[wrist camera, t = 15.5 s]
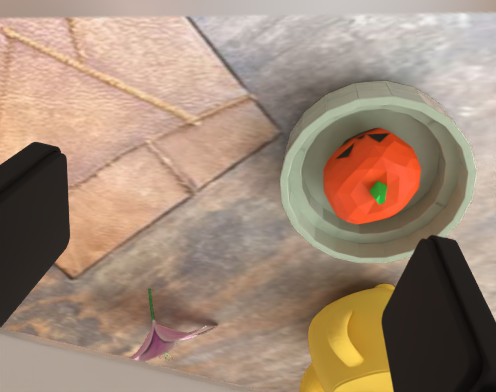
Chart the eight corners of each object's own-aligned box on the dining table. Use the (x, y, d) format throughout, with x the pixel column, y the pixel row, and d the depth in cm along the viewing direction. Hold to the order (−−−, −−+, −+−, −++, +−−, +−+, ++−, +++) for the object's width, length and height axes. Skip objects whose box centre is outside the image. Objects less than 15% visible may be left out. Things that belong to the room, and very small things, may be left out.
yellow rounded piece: (314, 255, 42) (312, 351, 32) (459, 285, 41) (505, 393, 31) (288, 348, 49) (280, 451, 39) (411, 376, 48) (436, 488, 38)
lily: (123, 326, 53) (126, 407, 47) (83, 284, 44) (82, 378, 38) (215, 301, 54) (231, 378, 48) (196, 254, 44) (211, 342, 38)
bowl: (308, 60, 33) (306, 75, 29) (488, 101, 32) (514, 123, 28) (269, 209, 40) (263, 240, 36) (416, 245, 40) (428, 280, 35)
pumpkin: (306, 180, 37) (303, 219, 32) (361, 104, 33) (369, 134, 28) (373, 219, 38) (382, 263, 33) (434, 149, 34) (457, 187, 29)
